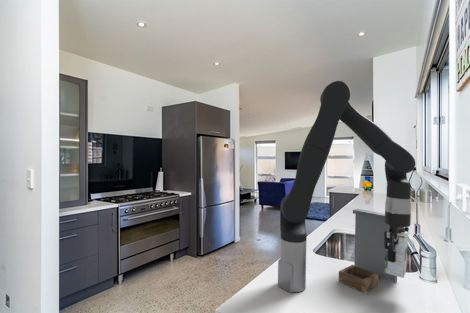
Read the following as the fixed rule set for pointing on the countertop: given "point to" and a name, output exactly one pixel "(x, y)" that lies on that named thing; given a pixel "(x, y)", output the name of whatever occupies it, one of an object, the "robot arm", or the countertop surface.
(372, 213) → the upright grey panel
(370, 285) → the socket
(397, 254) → the syrup box
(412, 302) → the countertop surface
